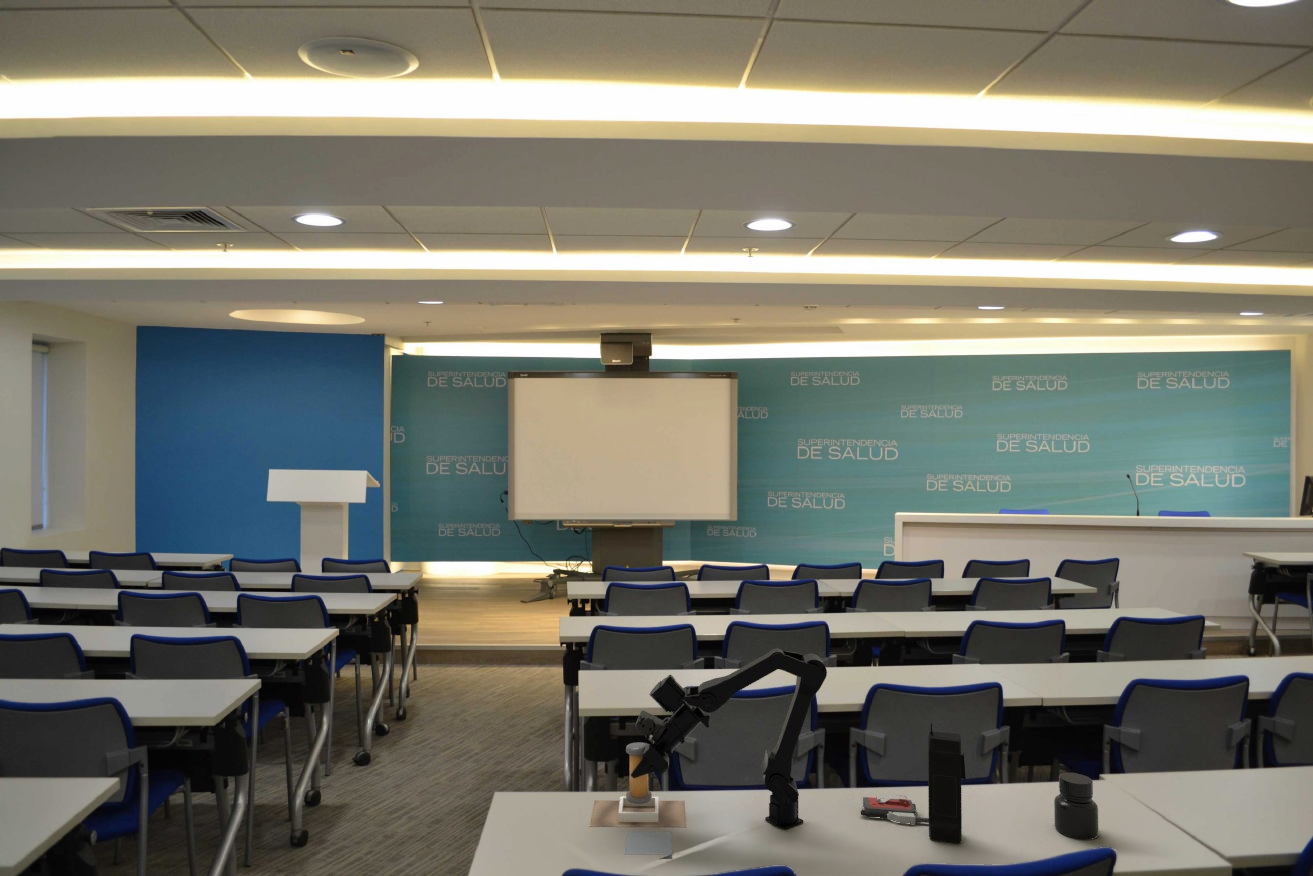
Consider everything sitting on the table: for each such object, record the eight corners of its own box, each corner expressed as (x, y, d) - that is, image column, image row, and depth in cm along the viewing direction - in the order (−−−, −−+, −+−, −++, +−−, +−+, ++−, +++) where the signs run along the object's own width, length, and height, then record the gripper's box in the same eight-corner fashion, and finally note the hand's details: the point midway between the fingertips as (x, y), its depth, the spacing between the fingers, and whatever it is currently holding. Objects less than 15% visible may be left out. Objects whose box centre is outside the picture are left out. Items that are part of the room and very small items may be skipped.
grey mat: (671, 836, 178) (671, 832, 178) (671, 859, 168) (671, 854, 168) (626, 836, 178) (626, 832, 178) (624, 859, 168) (624, 854, 168)
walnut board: (684, 805, 195) (684, 800, 195) (686, 831, 181) (686, 827, 181) (594, 804, 195) (594, 800, 195) (589, 831, 181) (589, 826, 181)
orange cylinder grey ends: (641, 791, 192) (641, 740, 193) (656, 799, 187) (656, 747, 188) (621, 797, 189) (621, 746, 189) (635, 806, 184) (635, 753, 184)
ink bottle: (1099, 827, 184) (1098, 775, 184) (1102, 844, 176) (1101, 789, 176) (1051, 819, 188) (1051, 768, 188) (1053, 835, 180) (1052, 781, 180)
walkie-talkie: (861, 823, 186) (951, 829, 183) (861, 804, 186) (951, 810, 183) (857, 807, 195) (943, 813, 192) (857, 789, 195) (943, 794, 192)
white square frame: (658, 805, 193) (658, 796, 193) (658, 822, 183) (658, 813, 183) (620, 804, 193) (620, 796, 193) (618, 822, 183) (618, 813, 183)
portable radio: (965, 833, 180) (964, 722, 181) (966, 845, 175) (965, 730, 175) (928, 828, 183) (928, 718, 184) (928, 840, 177) (928, 726, 178)
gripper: (657, 689, 198) (613, 734, 198) (653, 713, 179) (604, 762, 179) (689, 722, 197) (645, 766, 197) (688, 749, 179) (639, 798, 179)
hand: (633, 772), depth 188 cm, fingers closed on orange cylinder grey ends, 5 cm apart
